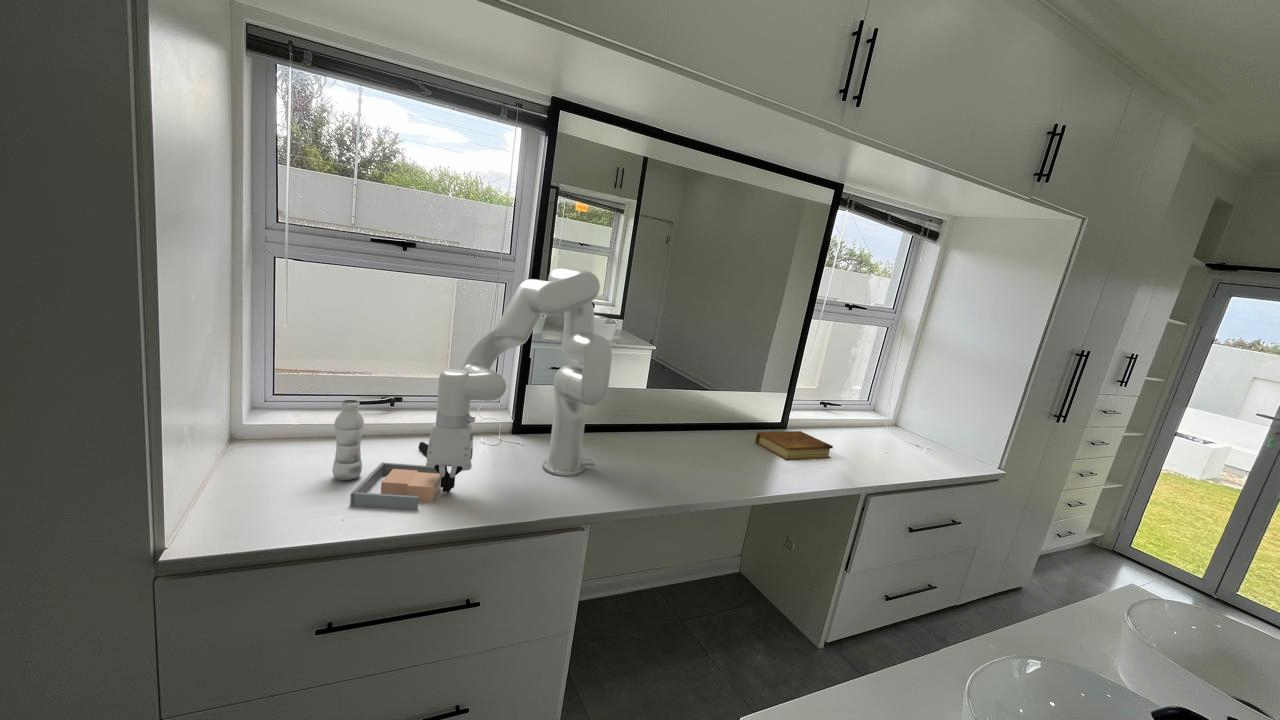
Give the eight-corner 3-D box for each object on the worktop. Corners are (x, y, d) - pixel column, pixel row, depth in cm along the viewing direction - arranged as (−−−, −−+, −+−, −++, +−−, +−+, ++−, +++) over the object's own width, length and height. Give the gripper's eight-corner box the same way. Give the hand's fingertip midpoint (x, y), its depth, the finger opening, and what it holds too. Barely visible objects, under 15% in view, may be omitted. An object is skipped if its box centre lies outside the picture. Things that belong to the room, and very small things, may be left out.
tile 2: (441, 488, 125) (442, 473, 124) (432, 502, 117) (433, 487, 117) (416, 486, 124) (417, 472, 123) (406, 501, 116) (407, 485, 116)
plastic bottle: (330, 484, 119) (333, 405, 116) (333, 473, 125) (336, 397, 122) (361, 482, 122) (365, 405, 119) (362, 471, 128) (365, 397, 125)
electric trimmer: (427, 449, 149) (427, 440, 149) (455, 466, 140) (455, 455, 139) (415, 452, 146) (415, 442, 146) (443, 469, 137) (443, 458, 136)
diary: (796, 443, 211) (799, 430, 210) (830, 459, 194) (833, 446, 193) (754, 444, 200) (757, 430, 199) (786, 461, 184) (789, 447, 183)
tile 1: (417, 485, 125) (418, 470, 124) (407, 499, 117) (408, 483, 117) (392, 483, 124) (393, 468, 123) (380, 497, 116) (381, 482, 116)
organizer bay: (438, 477, 131) (439, 466, 130) (416, 509, 113) (417, 497, 112) (381, 473, 128) (381, 462, 128) (349, 505, 111) (350, 493, 110)
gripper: (486, 418, 124) (480, 485, 127) (425, 412, 122) (420, 481, 125) (481, 427, 117) (475, 499, 120) (415, 421, 114) (410, 495, 117)
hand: (447, 490), depth 122 cm, fingers closed
